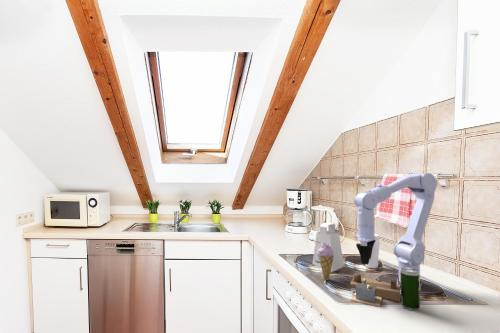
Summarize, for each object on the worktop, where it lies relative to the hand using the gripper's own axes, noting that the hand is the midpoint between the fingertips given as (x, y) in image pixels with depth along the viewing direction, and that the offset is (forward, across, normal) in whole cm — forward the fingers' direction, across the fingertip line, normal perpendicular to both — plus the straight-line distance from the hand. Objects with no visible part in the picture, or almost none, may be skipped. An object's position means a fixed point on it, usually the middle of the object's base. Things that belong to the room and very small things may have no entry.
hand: (366, 261), depth 104 cm
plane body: (+10, +2, +3) cm, 11 cm away
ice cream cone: (+11, -2, -16) cm, 19 cm away
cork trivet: (+10, +10, +1) cm, 14 cm away
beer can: (+11, +8, +14) cm, 19 cm away
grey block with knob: (+10, +10, +1) cm, 14 cm away
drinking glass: (+11, -28, -1) cm, 30 cm away
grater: (+11, -19, -19) cm, 29 cm away
